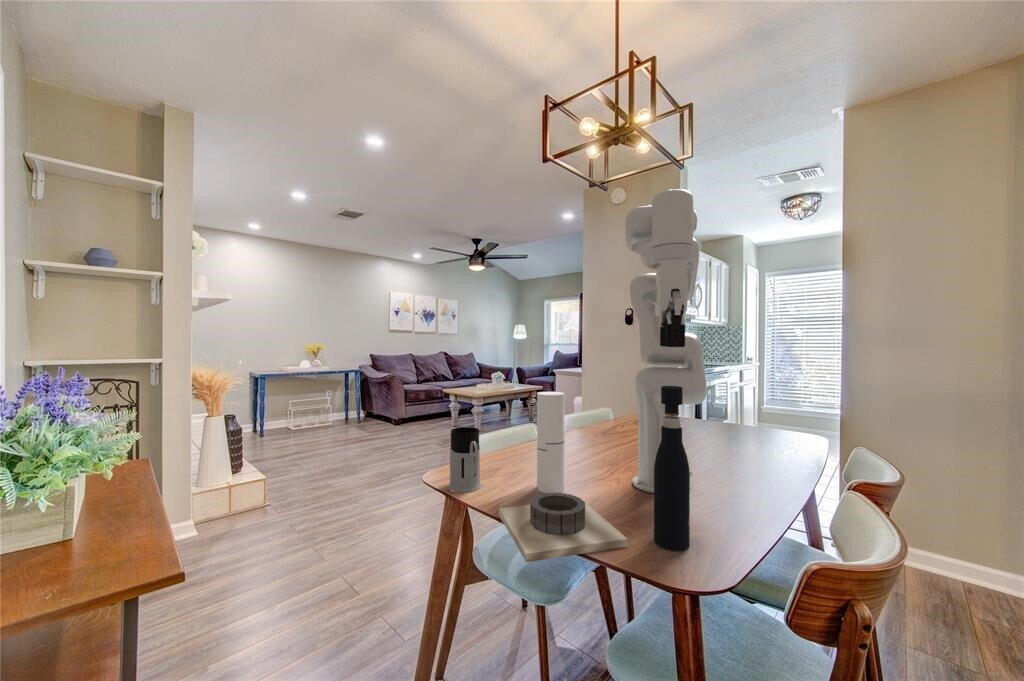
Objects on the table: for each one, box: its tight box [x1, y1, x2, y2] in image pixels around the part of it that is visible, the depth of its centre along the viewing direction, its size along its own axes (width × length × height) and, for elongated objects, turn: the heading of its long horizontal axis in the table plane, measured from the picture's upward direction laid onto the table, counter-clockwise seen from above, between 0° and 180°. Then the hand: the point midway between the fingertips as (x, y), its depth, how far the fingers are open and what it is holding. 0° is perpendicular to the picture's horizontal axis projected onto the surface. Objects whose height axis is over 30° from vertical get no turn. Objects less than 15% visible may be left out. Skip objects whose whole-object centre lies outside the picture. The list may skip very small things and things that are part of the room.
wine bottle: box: [653, 386, 691, 552], centre depth 79 cm, size 6×6×30 cm
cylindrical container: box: [536, 391, 566, 494], centre depth 107 cm, size 7×7×25 cm
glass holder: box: [448, 426, 482, 494], centre depth 106 cm, size 9×14×15 cm, turn 23°
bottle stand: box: [498, 492, 628, 563], centre depth 84 cm, size 20×20×6 cm
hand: (671, 346), depth 78 cm, fingers open, 9 cm apart
